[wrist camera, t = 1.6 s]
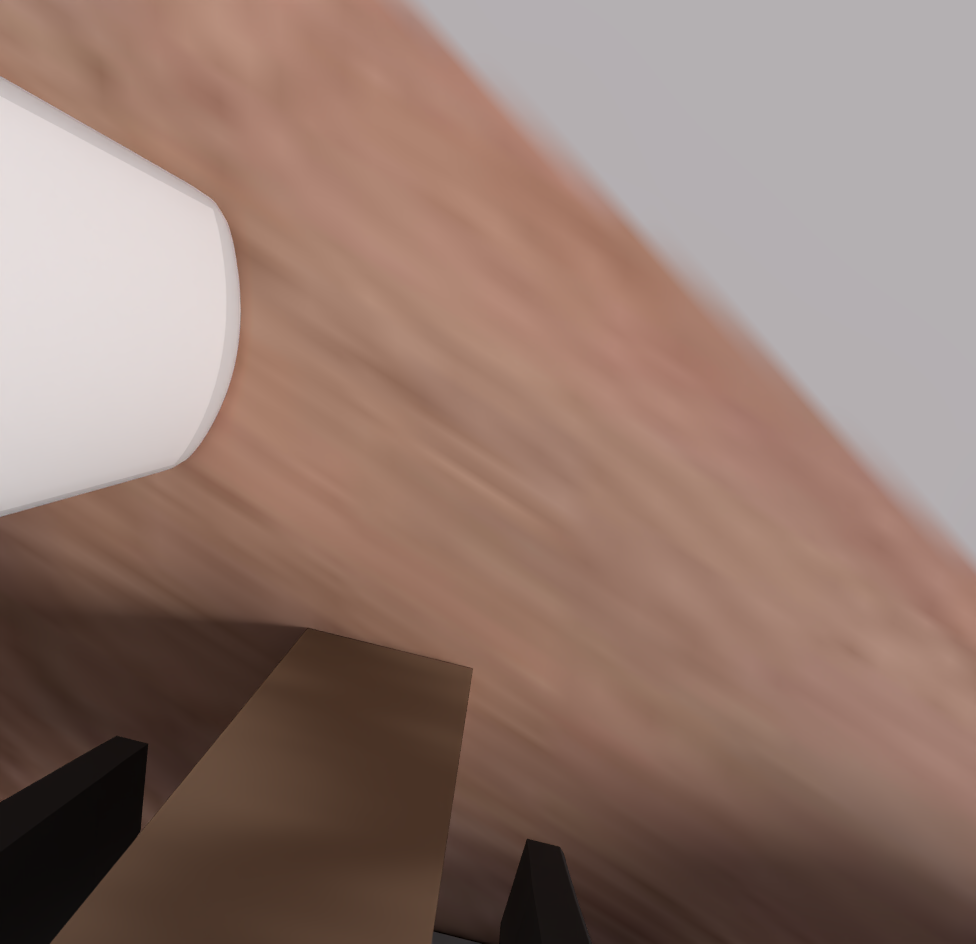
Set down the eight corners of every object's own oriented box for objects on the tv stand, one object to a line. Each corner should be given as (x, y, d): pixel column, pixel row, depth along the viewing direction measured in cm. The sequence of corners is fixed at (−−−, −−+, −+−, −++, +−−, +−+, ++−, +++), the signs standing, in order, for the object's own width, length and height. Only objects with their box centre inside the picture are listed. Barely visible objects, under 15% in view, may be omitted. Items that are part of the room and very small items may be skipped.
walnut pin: (472, 669, 11) (305, 1773, 2) (438, 805, 12) (219, 1986, 3) (307, 628, 11) (-454, 1561, 2) (284, 766, 12) (-339, 1827, 3)
